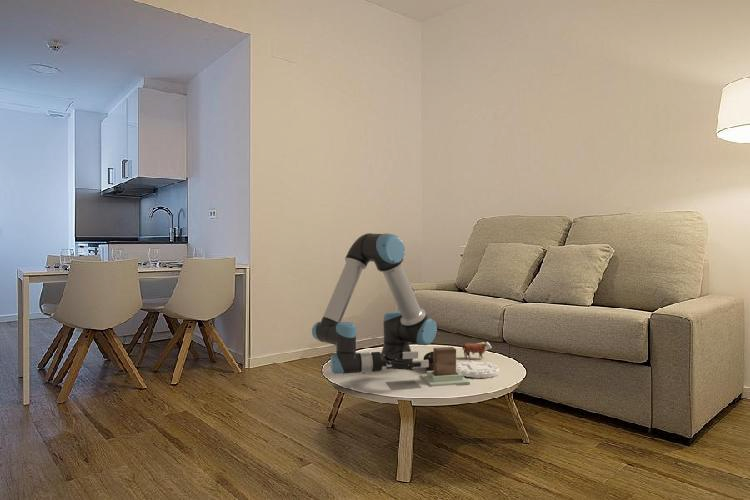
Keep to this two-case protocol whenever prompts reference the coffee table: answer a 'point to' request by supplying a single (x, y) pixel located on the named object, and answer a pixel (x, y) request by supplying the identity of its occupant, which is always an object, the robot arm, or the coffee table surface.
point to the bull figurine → (475, 349)
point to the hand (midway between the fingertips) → (423, 358)
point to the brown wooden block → (444, 361)
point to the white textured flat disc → (477, 369)
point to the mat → (403, 385)
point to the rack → (444, 379)
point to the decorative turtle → (429, 357)
